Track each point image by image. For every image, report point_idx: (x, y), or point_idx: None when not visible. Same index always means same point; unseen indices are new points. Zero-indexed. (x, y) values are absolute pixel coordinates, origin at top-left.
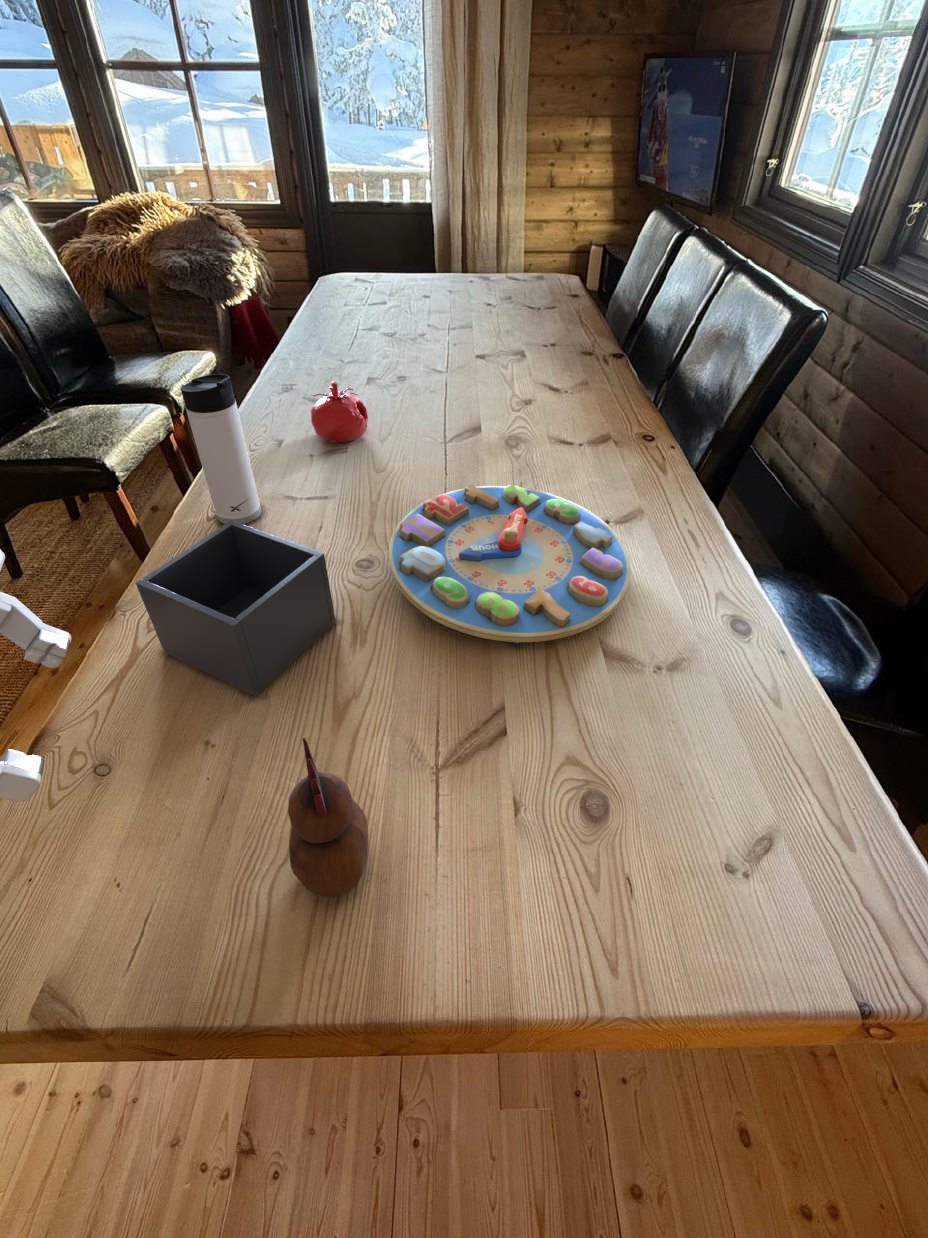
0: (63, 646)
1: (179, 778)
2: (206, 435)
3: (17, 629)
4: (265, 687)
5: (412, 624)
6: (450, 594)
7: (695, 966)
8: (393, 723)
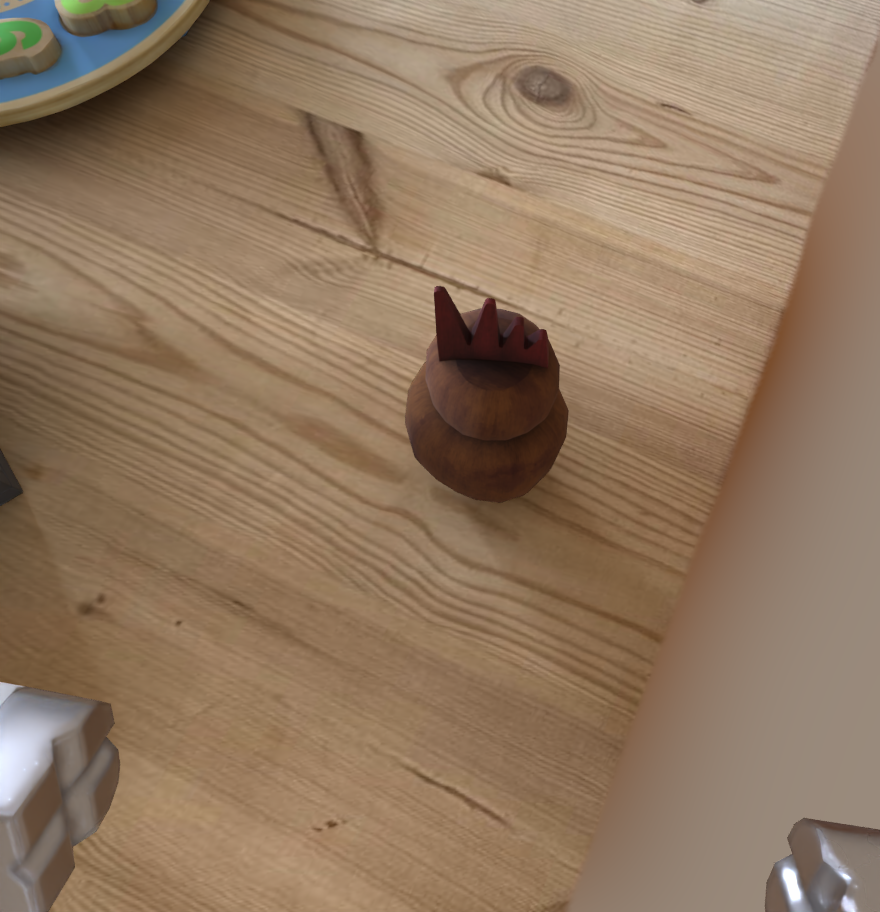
0: (73, 710)
1: (145, 678)
2: None
3: None
4: (9, 467)
5: (21, 166)
6: (19, 46)
7: (797, 98)
8: (239, 280)
